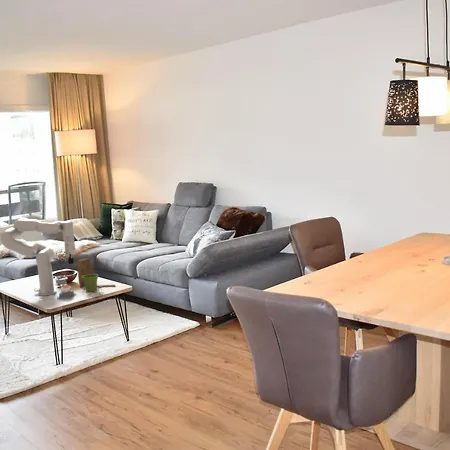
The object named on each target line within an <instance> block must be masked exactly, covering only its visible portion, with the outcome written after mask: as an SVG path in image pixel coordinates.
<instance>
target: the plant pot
mask: <svg viewBox="0 0 450 450" xmlns="http://www.w3.org/2000/svg"><path fill="white" fill-rule="evenodd" d="M82 278H83V281H84V284H85V286H84V288H85V290H86V292H87V293H89V292H90V293H93V292H96V291H97V289H98V287H97V285H98V278H99V274H97V273H94V274H88V275H84V276H82Z"/></svg>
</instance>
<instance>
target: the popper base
mask: <svg viewBox="0 0 450 450" xmlns="http://www.w3.org/2000/svg"><path fill="white" fill-rule="evenodd" d="M75 296H76V293H75V292H74V289H73V290H72V289H71V291H70V292H69V293H62V292H58V296H57V300H65V299H66V300H67V299H69V300H70V299H71V300H72V299H73V298H74V297H75Z"/></svg>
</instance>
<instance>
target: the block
mask: <svg viewBox="0 0 450 450" xmlns="http://www.w3.org/2000/svg"><path fill="white" fill-rule="evenodd" d="M90 260H91V259H90V258H81V259H78V260H77V278H78V284H79V285H80V286H81V287H85V284H84V281H83V278H82V276H84V275H88V274H95V271H94V267H93V265H92V263H91V262H90Z"/></svg>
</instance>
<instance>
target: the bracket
mask: <svg viewBox="0 0 450 450" xmlns="http://www.w3.org/2000/svg"><path fill="white" fill-rule="evenodd" d="M109 287H113V288H115V287H116V284H102V285H101V284H100V285H98V284H97V288H109Z"/></svg>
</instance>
